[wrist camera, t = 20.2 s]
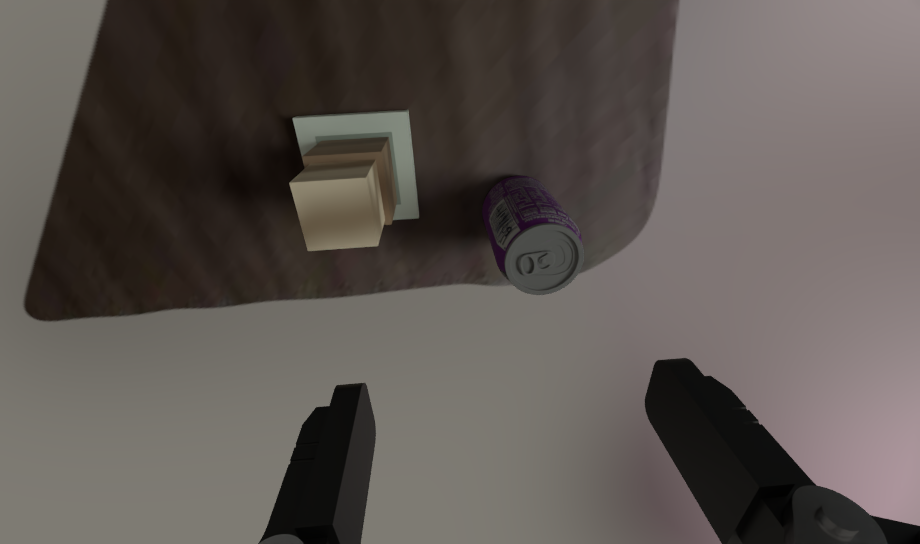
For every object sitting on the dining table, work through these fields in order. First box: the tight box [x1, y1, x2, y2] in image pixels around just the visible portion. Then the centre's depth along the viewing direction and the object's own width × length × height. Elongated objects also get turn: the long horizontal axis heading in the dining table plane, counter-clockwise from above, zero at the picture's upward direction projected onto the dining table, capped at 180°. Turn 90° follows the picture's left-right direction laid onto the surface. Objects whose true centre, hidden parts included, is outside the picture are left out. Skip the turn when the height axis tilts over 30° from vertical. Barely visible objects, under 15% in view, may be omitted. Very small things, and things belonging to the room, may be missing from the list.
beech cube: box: [289, 159, 385, 251], centre depth 29 cm, size 5×5×5 cm
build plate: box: [292, 110, 419, 220], centre depth 37 cm, size 10×10×1 cm
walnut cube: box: [302, 137, 397, 225], centre depth 33 cm, size 6×6×6 cm
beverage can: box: [482, 176, 584, 295], centre depth 35 cm, size 7×7×12 cm
